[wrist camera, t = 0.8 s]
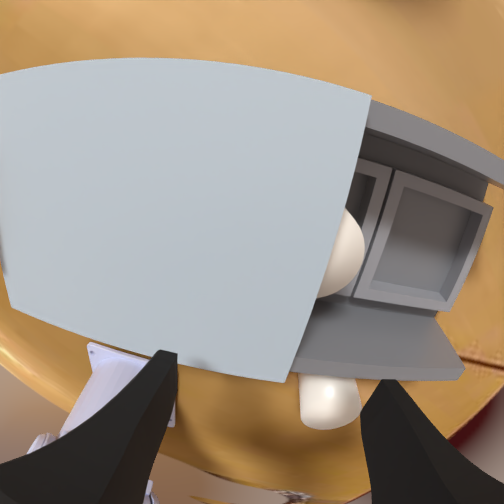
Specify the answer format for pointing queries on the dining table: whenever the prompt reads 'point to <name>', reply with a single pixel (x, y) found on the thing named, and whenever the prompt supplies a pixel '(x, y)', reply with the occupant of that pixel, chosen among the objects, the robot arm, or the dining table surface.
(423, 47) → the dining table surface
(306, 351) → the housing
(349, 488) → the dining table surface
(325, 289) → the white rounded tapered block
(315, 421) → the white rounded cylinder
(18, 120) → the lid
